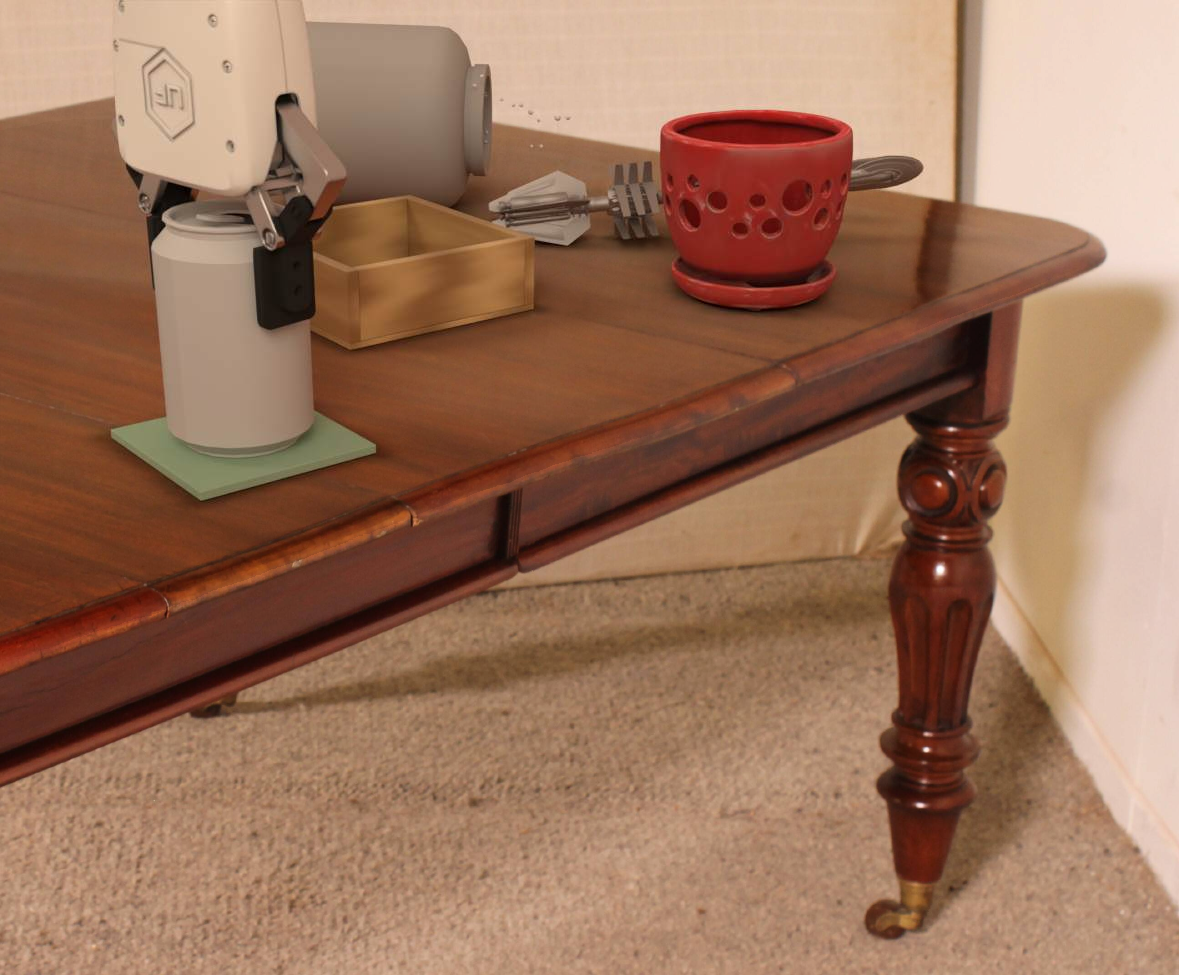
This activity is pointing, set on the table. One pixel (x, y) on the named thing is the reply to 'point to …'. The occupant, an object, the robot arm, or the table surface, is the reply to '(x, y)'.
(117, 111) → the robot arm
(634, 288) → the table surface
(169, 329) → the can
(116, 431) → the mat
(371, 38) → the jar
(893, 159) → the spaceship
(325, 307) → the wooden box
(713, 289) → the flower pot
